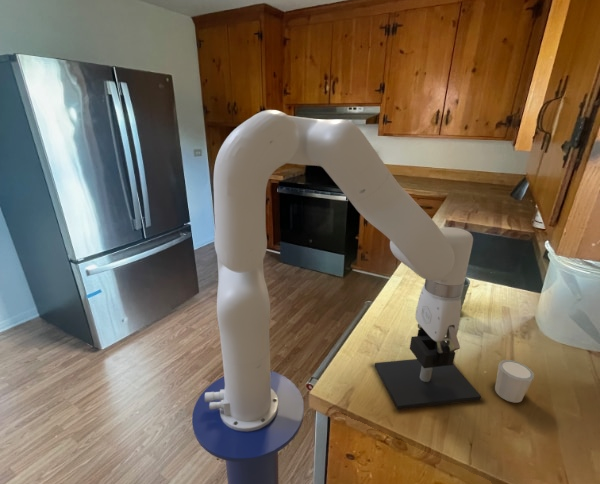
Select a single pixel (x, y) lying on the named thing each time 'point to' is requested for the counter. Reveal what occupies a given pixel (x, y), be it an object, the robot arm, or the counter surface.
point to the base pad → (424, 384)
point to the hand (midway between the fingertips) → (431, 353)
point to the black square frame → (427, 350)
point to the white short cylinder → (513, 380)
